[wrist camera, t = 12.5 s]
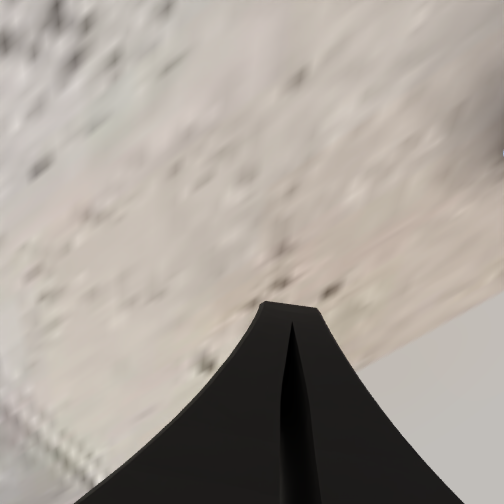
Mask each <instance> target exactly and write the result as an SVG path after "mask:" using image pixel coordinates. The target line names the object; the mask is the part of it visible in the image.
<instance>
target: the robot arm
mask: <svg viewBox="0 0 504 504" xmlns="http://www.w3.org/2000/svg"><path fill="white" fill-rule="evenodd" d="M503 155H504V151H503ZM74 504H464V503H463V502H462V501H461V500H460V499H459V498H458V497H457V496H456V495H455V494H454V493H453V492H452V491H451V490H450V488H448V486H446V484H445V483H444V482H443V481H442V480H441V479H440V478H439V477H438V476H437V475H436V474H435V472H434V471H433V470H432V469H431V468H430V467H429V466H428V465H427V464H426V463H425V462H424V460H423V459H422V458H421V457H420V456H419V455H418V454H417V452H416V451H415V450H414V449H413V448H412V446H411V445H410V444H409V443H408V442H407V441H406V439H405V438H404V437H403V436H402V435H401V434H400V432H399V431H398V430H397V428H396V427H395V426H394V425H393V423H392V422H391V421H390V420H389V418H388V417H387V416H386V414H385V413H384V412H383V410H382V409H381V408H380V407H379V405H378V404H377V402H376V401H375V400H374V398H373V397H372V396H371V394H370V393H369V392H368V390H367V389H366V387H365V386H364V384H363V383H362V382H361V380H360V379H359V377H358V375H357V374H356V372H355V371H354V369H353V368H352V366H351V365H350V363H349V362H348V360H347V359H346V357H345V355H344V354H343V352H342V351H341V349H340V347H339V346H338V344H337V342H336V341H335V339H334V337H333V335H332V334H331V332H330V330H329V328H328V326H327V325H326V323H325V321H324V319H323V317H322V315H321V313H320V312H319V310H318V309H317V308H313V307H306V306H298V305H291V304H284V303H277V302H269V301H264V302H263V303H261V304H260V306H259V309H258V311H257V313H256V316H255V318H254V319H253V321H252V323H251V325H250V326H249V328H248V330H247V331H246V333H245V334H244V336H243V337H242V339H241V340H240V342H239V343H238V345H237V346H236V347H235V349H234V350H233V352H232V353H231V354H230V356H229V357H228V358H227V360H226V361H225V362H224V363H223V365H222V366H221V367H220V368H219V370H218V371H217V372H216V373H215V374H214V376H213V377H212V378H211V379H210V381H209V382H208V383H207V384H206V385H205V386H204V387H203V389H202V390H201V391H200V392H199V393H198V394H197V395H196V396H195V397H194V398H193V399H192V401H191V402H190V403H189V404H188V405H187V406H186V407H185V408H184V409H183V410H182V411H181V412H180V413H179V414H178V415H177V416H176V417H175V418H174V419H173V420H172V421H171V422H170V423H169V424H167V425H166V426H165V427H164V428H163V429H162V430H161V431H160V432H159V433H158V434H157V435H156V436H155V437H153V438H152V439H151V440H150V441H149V442H148V443H147V444H146V445H145V446H144V447H143V448H141V449H140V450H139V451H138V452H137V453H136V454H135V455H133V456H132V457H131V458H130V459H129V460H128V461H126V462H125V463H124V464H123V465H122V466H120V467H119V468H118V469H117V470H115V471H114V472H113V473H112V474H110V475H109V476H108V477H107V478H105V479H104V480H103V481H102V482H100V483H99V484H98V485H97V486H95V487H94V488H93V489H92V490H90V491H89V492H88V493H86V494H85V495H84V496H83V497H81V498H80V499H79V500H78V501H76V502H75V503H74Z"/></svg>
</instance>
